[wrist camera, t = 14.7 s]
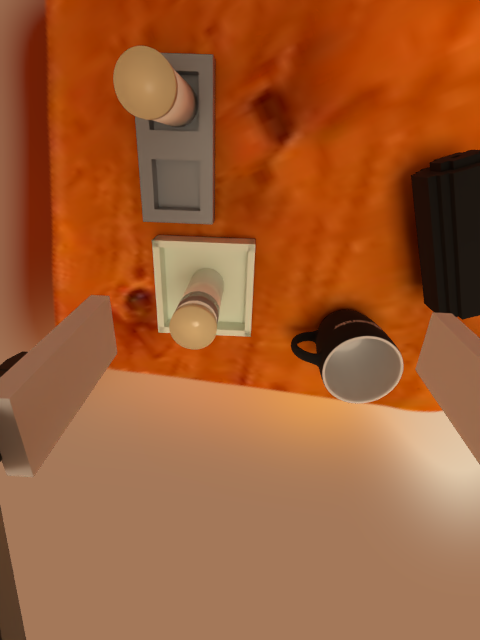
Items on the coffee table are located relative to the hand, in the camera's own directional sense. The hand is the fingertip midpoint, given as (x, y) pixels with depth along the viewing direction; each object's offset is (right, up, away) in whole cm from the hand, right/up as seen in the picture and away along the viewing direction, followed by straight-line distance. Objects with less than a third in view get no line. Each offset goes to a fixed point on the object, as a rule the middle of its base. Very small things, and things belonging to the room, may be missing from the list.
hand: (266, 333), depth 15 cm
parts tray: (-5, +5, +32) cm, 33 cm away
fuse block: (-8, +20, +25) cm, 33 cm away
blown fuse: (-5, +5, +32) cm, 32 cm away
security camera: (+22, +11, +29) cm, 38 cm away
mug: (+11, -1, +35) cm, 36 cm away
